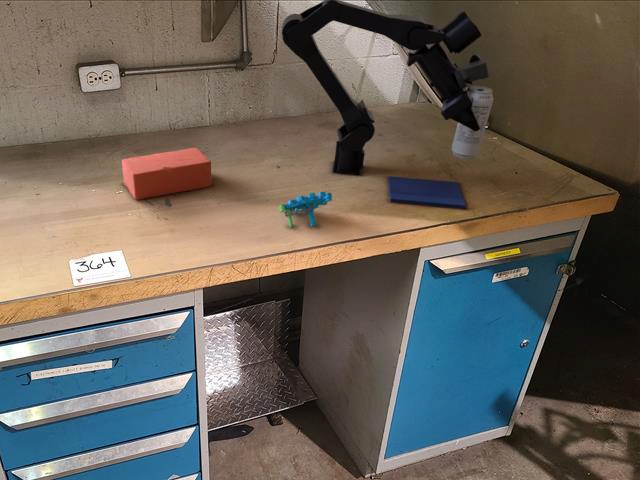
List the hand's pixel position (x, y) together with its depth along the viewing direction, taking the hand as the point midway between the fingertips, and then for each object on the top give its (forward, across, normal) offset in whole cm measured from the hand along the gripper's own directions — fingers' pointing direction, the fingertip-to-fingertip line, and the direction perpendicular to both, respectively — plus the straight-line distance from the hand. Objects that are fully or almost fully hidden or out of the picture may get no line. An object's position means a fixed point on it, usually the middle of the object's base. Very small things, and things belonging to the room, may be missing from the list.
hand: (478, 125), depth 135 cm
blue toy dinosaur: (-12, -33, +32) cm, 47 cm away
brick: (-35, -27, +55) cm, 71 cm away
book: (+4, -10, +15) cm, 19 cm away
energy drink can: (+4, 0, +6) cm, 7 cm away
